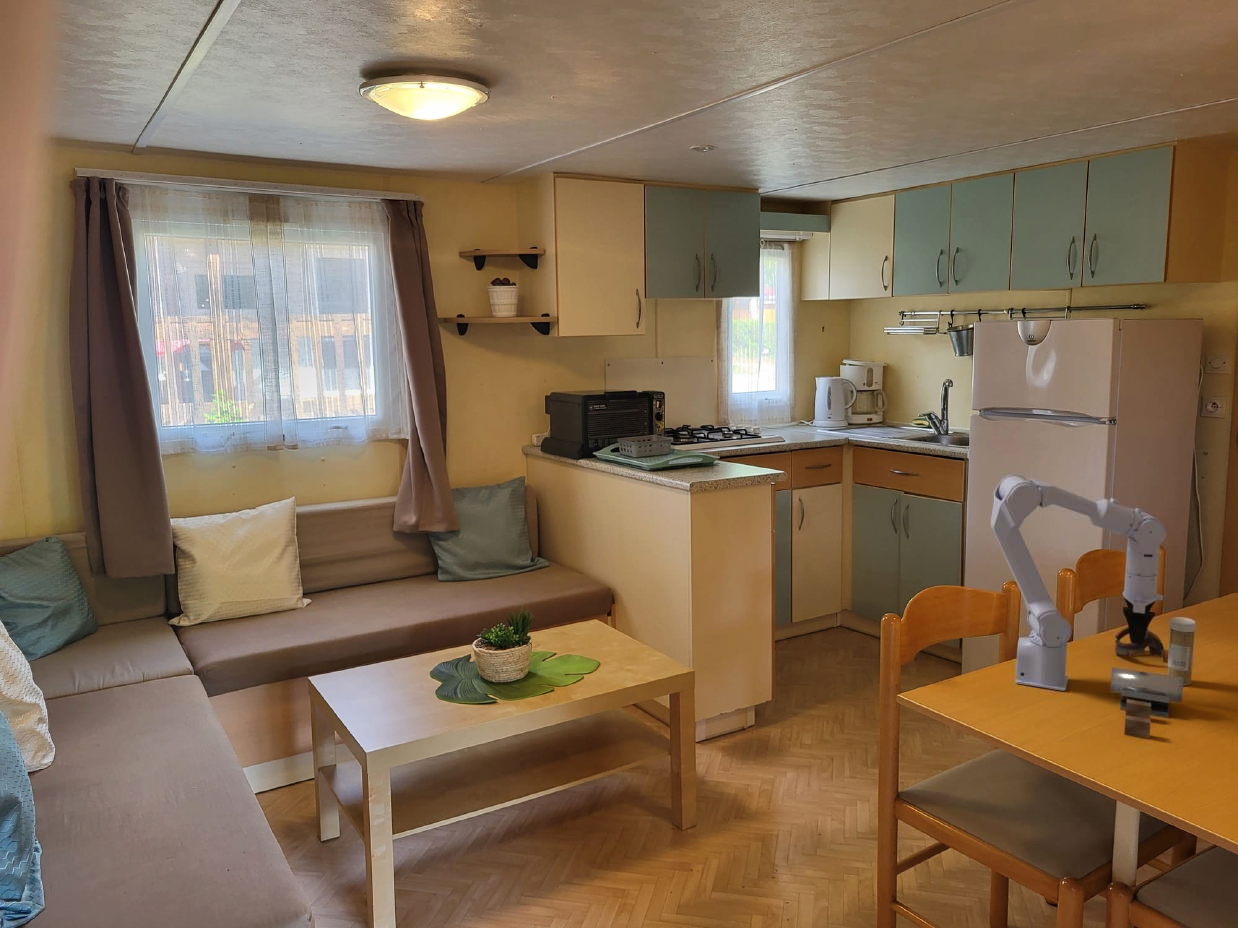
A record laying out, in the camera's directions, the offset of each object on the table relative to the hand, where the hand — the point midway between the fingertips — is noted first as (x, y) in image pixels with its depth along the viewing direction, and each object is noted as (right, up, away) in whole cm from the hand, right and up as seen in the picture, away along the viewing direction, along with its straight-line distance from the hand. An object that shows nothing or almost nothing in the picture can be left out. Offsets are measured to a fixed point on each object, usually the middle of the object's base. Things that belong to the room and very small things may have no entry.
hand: (1137, 637), depth 190 cm
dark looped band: (+10, -8, +17) cm, 22 cm away
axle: (-3, -10, -9) cm, 14 cm away
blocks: (-9, -13, -17) cm, 23 cm away
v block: (-3, -12, -8) cm, 15 cm away
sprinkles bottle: (+10, -10, +3) cm, 15 cm away
